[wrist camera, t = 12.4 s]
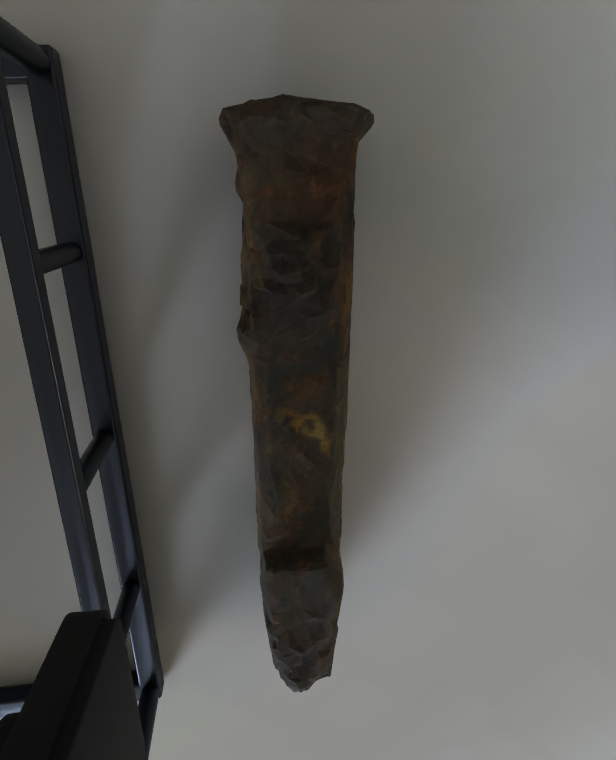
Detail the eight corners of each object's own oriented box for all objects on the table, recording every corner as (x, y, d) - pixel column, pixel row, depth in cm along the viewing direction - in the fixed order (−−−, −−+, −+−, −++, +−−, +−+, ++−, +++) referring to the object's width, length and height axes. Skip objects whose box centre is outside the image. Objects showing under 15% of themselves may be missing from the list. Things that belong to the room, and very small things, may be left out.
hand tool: (224, 107, 16) (216, 74, 12) (357, 117, 17) (396, 88, 12) (223, 625, 22) (217, 731, 18) (322, 621, 23) (339, 724, 18)
